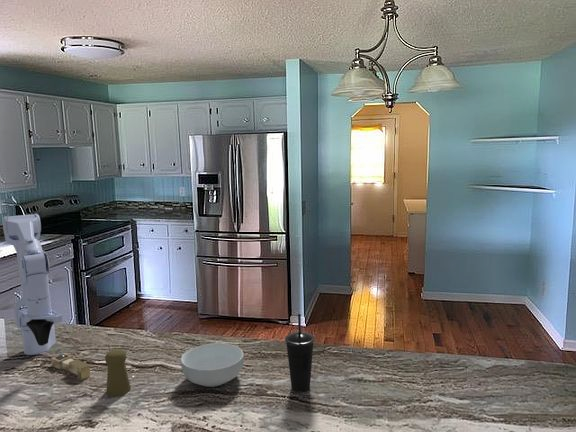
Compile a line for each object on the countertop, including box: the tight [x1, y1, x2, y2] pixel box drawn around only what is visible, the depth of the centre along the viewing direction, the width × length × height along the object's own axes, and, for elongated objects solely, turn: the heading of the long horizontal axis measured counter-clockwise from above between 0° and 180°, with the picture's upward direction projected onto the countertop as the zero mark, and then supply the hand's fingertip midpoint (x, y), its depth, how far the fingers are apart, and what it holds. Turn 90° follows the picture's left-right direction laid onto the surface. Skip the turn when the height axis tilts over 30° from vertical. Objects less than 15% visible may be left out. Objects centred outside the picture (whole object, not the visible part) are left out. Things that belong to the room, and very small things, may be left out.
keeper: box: [69, 359, 91, 381], centre depth 123 cm, size 7×2×4 cm, turn 52°
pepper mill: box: [104, 348, 132, 398], centre depth 115 cm, size 6×6×11 cm
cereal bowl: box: [180, 342, 245, 388], centre depth 120 cm, size 17×17×7 cm
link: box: [50, 352, 78, 376], centre depth 127 cm, size 12×4×2 cm, turn 57°
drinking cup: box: [284, 313, 316, 393], centre depth 114 cm, size 8×8×20 cm
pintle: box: [57, 353, 65, 360], centre depth 129 cm, size 2×2×4 cm
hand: (43, 344), depth 123 cm, fingers closed
